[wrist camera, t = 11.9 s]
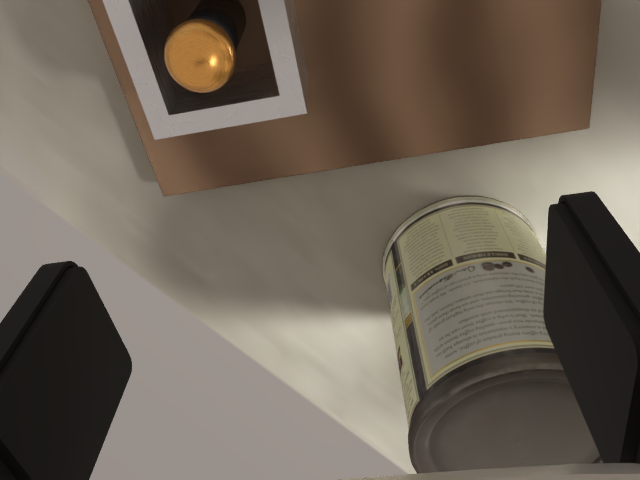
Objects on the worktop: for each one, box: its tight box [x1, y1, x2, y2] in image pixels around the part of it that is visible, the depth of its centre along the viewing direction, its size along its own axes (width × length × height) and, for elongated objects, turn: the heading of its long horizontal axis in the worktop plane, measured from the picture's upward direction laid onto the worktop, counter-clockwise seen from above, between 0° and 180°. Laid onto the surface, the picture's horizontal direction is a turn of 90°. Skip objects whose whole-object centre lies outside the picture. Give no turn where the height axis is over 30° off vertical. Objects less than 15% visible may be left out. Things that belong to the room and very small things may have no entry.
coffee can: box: [382, 197, 603, 474], centre depth 32 cm, size 10×10×14 cm
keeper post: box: [164, 0, 246, 93], centre depth 25 cm, size 3×3×7 cm
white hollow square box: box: [103, 0, 309, 140], centre depth 26 cm, size 7×7×5 cm
